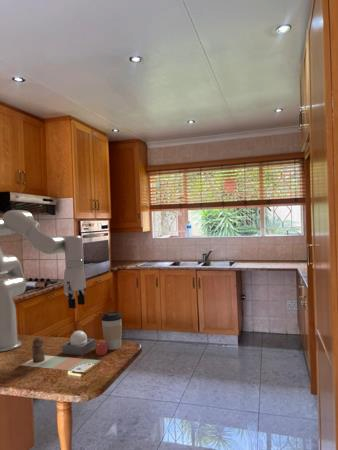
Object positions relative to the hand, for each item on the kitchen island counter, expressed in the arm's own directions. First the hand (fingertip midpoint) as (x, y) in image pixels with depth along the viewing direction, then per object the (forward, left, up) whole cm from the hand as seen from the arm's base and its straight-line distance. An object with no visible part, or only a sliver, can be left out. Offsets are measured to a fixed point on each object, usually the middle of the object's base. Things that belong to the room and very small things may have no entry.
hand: (76, 305), depth 151 cm
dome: (0, 0, -18) cm, 18 cm away
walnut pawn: (-10, -14, -19) cm, 25 cm away
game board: (+1, -14, -20) cm, 24 cm away
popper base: (0, 0, -20) cm, 20 cm away
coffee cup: (+12, +8, -20) cm, 25 cm away
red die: (+11, 0, -20) cm, 22 cm away
